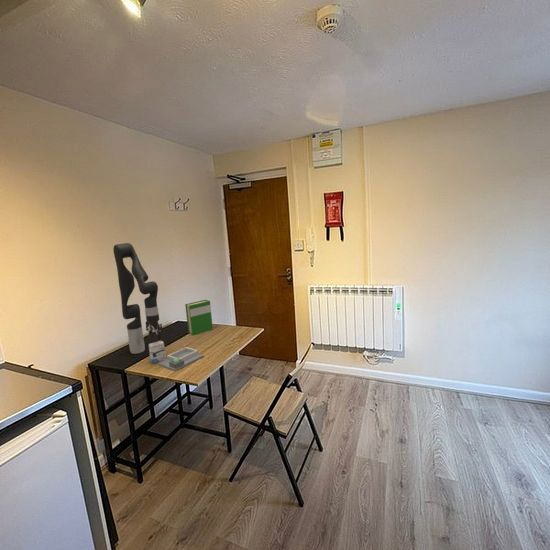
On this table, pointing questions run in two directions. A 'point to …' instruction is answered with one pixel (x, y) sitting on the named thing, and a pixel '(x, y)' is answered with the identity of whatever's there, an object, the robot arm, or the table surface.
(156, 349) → the ink box
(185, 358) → the grey tray
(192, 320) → the hardback book
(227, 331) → the table surface
